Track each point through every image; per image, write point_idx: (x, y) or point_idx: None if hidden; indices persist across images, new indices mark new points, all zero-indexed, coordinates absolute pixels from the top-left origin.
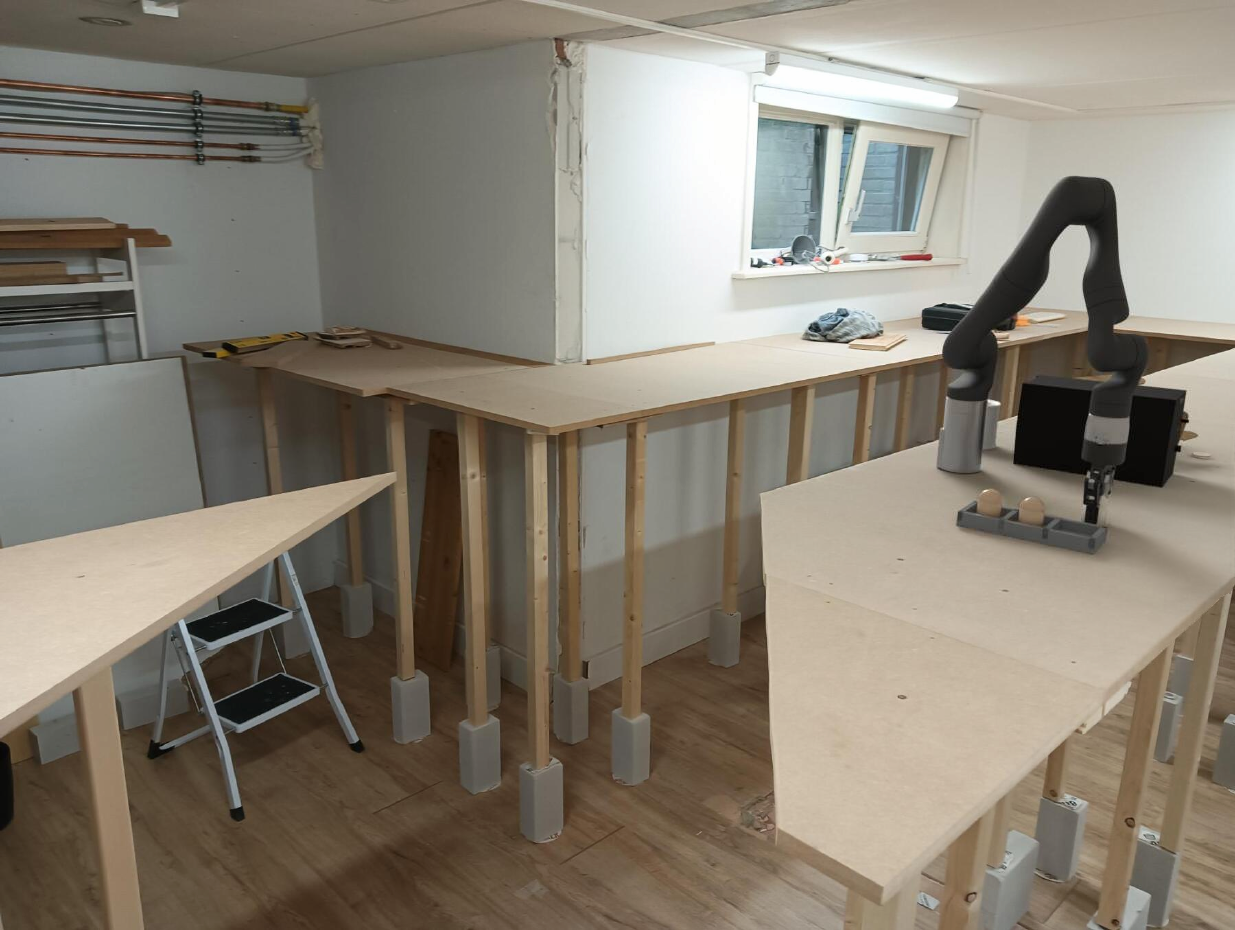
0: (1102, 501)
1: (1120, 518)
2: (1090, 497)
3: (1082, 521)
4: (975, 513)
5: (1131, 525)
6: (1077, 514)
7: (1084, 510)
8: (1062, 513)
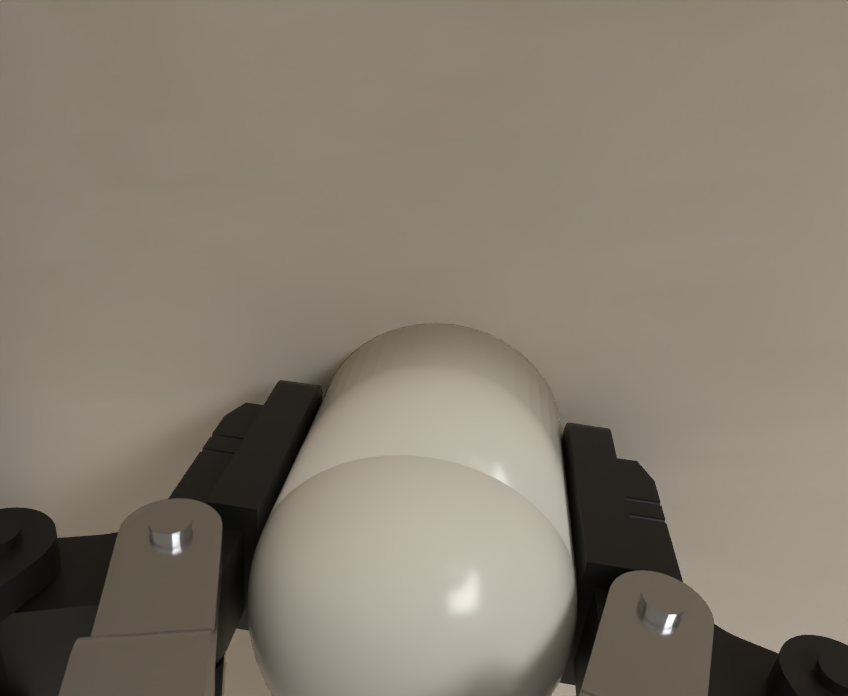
0: None
1: (746, 623)
2: (285, 610)
3: (369, 347)
4: None
5: (560, 688)
6: (702, 258)
7: (331, 424)
8: (660, 80)
